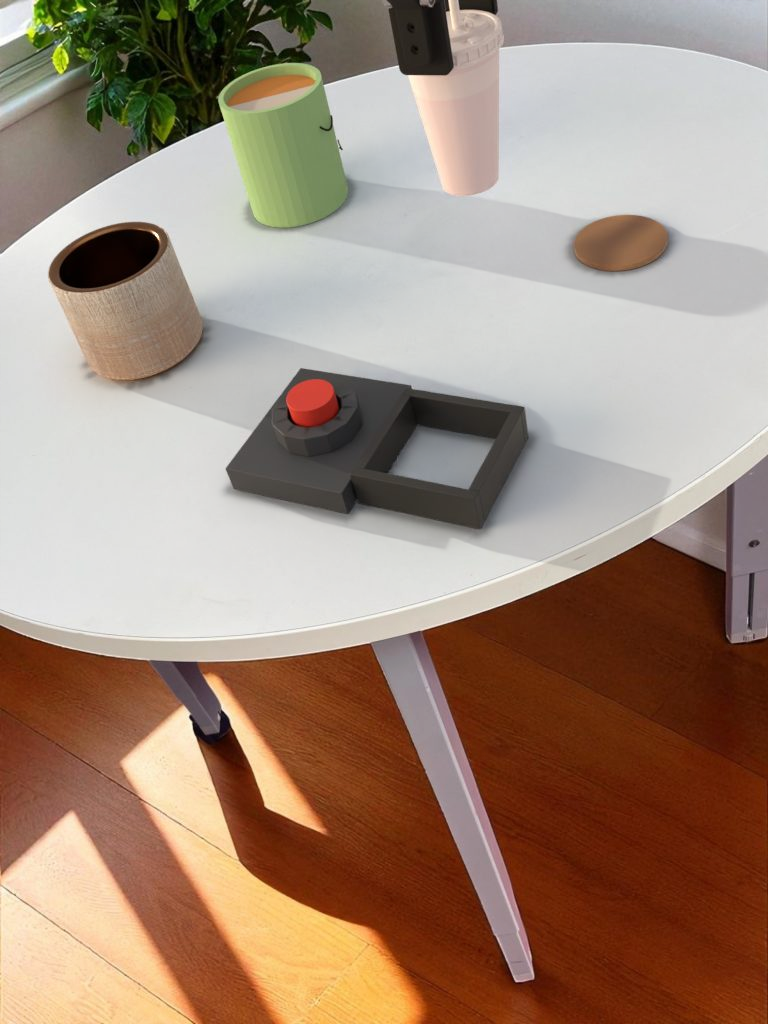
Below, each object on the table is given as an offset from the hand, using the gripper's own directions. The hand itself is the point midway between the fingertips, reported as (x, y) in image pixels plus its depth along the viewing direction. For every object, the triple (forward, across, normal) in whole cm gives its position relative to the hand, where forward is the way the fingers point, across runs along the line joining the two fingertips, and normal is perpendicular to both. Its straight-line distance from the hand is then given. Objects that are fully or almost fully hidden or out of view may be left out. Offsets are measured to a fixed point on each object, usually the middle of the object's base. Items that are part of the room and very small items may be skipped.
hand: (450, 41), depth 63 cm
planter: (+28, 0, +34) cm, 44 cm away
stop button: (+24, -8, +11) cm, 28 cm away
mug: (+28, +26, +32) cm, 50 cm away
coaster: (+28, +21, -3) cm, 35 cm away
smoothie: (+9, 0, 0) cm, 9 cm away
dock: (+28, -9, +1) cm, 29 cm away
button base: (+28, -8, +11) cm, 31 cm away
